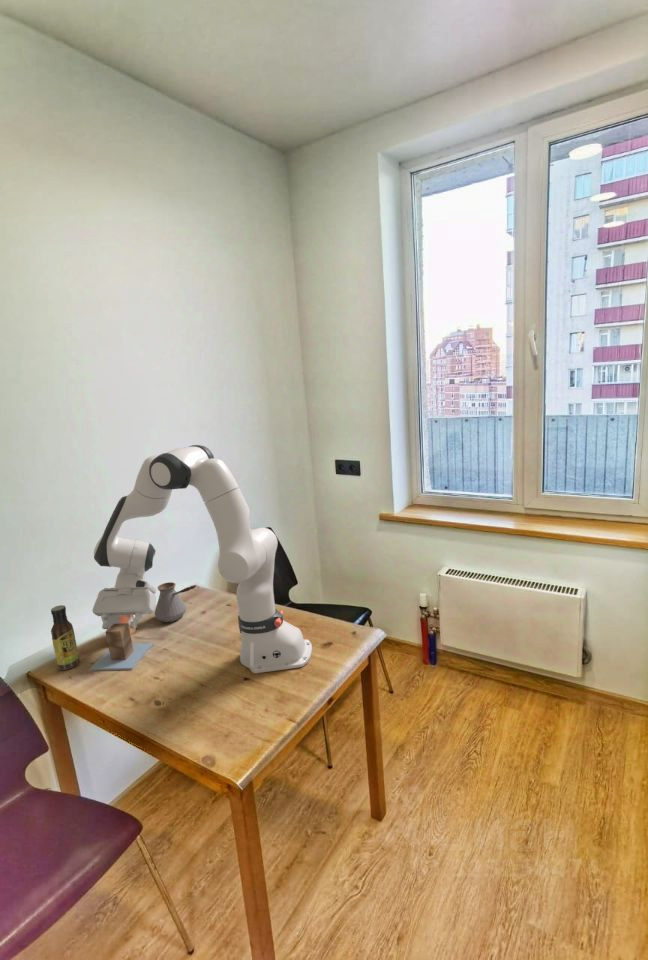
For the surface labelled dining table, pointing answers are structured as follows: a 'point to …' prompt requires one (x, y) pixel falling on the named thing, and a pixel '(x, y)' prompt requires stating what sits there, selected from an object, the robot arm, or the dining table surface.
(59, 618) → the sauce bottle
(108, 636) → the walnut block
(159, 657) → the dining table surface
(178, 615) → the coffee pot
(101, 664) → the slate board
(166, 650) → the dining table surface
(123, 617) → the small box
